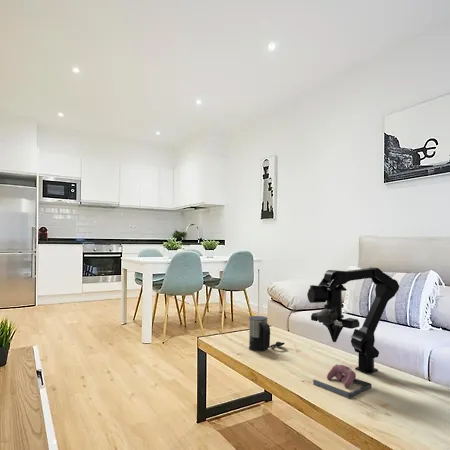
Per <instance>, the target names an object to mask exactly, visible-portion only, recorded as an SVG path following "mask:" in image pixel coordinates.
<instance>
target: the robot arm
mask: <svg viewBox="0 0 450 450" xmlns="http://www.w3.org/2000/svg"><path fill="white" fill-rule="evenodd" d="M366 279H371V281H372V283H373V284H374V285H375V288H374V290H375V297H374V300H373V301H372V304H371V306H370V308H369V311H368V313H367V315H366V317H365V319H364V321H363V324H362V326H361V325H360V321H359V320H358V319H357V318H352V317H347V318H345V317H344V314H343V308H344V307H345V305H344V304H343V303H342V301H343V300H342V298H343V297H342V295H343V294H342V292H343V291H344V292H346V291H347V288H346V287H345V286H344V285H345V284H347V283H348V282H351V281H357V280H366ZM399 289H400V285H399V282H398V281H397V279H394V278H392V277H391V276H390V275H388V274H386V273H385V272H384V271H382V270H381V269H380V268H379V267H368V268H360V269H350V270H338V269H337V270H336V269H328V270H326V271H325V272H324V274H323V278H322V279H321V280H320V282H319V284H318V285H315V284H310V286H309V288H308V291H307V294H306V295H307V296H306V297H307V299H308V302H309V303H310V304H320V303H322V304H323V303H326V304H324V305H323V307H324V308H323V309H322V310H321V311H317V312H313V313H311V315H310V321H314V322H319V323H320V324H321V323H322V325H323V326H325V327H326V328H327V330H328V332H329V335H330V337H331V341H332V343H336V342H337V340H338V338H339V336H340V334H341V332H342V330H343V329H344V328H346V329H354V330H353V333H352V335H351V336H350V338H351V339H350V343H351V347H352V348H353V350H354V352H355V353H358V359H357V360H358V365H357V366H356V367H355V368H354V369H355V371H359V372H362V373H366V374H370V375H371V374H372V373H375V372H377V371H379V369H378V368H375V359H376V358H379V354H380V351H379V350H378V349H377V348H376V346H374V345H375V342H376V341H375V340H376V338H375V331H376V330H377V327H378V325H379V323H380V321H381V318H382V317H383V316H382V315H383V313H384V311H385V309H386V306H387V304H388V302H389V301H390V300H391V299H393V298H394V297H395V296H396V294H397V293H398V291H399ZM360 326H361V327H360ZM357 328H359V329H357Z"/></svg>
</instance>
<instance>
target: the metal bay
mask: <svg viewBox="0 0 450 450" xmlns="http://www.w3.org/2000/svg"><path fill="white" fill-rule="evenodd" d="M342 375H343V377H344V376H346V375H345V374H342ZM334 378H336V375H335V376H334ZM312 380H313V381H312V384H313V385H314V386H316V387H320V388H322V389H325V390H327V391H330V392H332V393H335V394H337V395H340V396H343V397H345V398H347V399H352V398H355V397H357V396H358V395H361V394H363V393H365V392H367V391H369V390H370V389H372V387H373V386H372V385H373V384H372V383H370V382H367V381H365V380H362V379H358V378H355V380H353V382H352V384H356V385H359V386H360V387H358V388H356V389H354V390H352V391H350V392H349V391H347V390H344V389H341V388H339V387H336V386H333V385H331V384H327V383H325V382H322V381H319V380H318V379H312Z"/></svg>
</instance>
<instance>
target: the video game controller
mask: <svg viewBox="0 0 450 450" xmlns="http://www.w3.org/2000/svg"><path fill="white" fill-rule="evenodd" d="M342 374H344V375H346V376H344V377H343V375H342ZM335 375H336V377H335ZM356 377H357V375H356V373H355V371H354V370H352V369H351V368H350V367H348V366H347V365H343V364H335V365H333V366H332V368H331V369H330V370H329V371H328V372H327V374H326V379H327V380H331V379H333V378H336V380H337V381H342V382H343V386H344V387H345V388H346V389H348V388H349V387H351V386H352V384H353V380H355V378H356ZM356 379H357V378H356Z"/></svg>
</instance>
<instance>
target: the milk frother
mask: <svg viewBox="0 0 450 450" xmlns="http://www.w3.org/2000/svg"><path fill="white" fill-rule="evenodd" d="M268 318H269V317H267V316H263V315H253V316H249V317H248V320H249V322H248V323H249V324H248V325H249V327H248V328H249V330H248V331H249V344H248V345H249V347H248V349H249V350H250V351H255V352H256V351H257V352H262V351H267V350H268V349H270V348H273V347H276V348H280V347H282V346H283V345H286V344H285V342H281V341H276V342H275V343H274V344H271V328H270V325H269V323H268ZM270 344H271V345H270Z"/></svg>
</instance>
